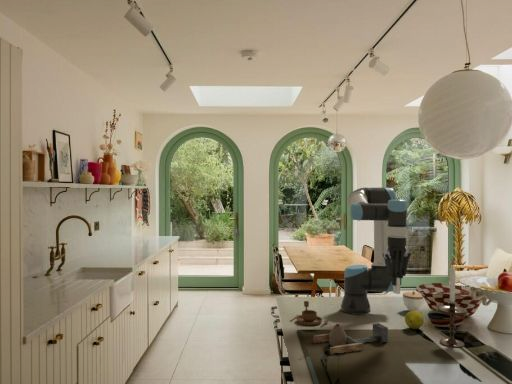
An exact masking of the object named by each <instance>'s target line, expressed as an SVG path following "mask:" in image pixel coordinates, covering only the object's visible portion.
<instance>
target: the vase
mask: <svg viewBox="0 0 512 384" xmlns="http://www.w3.org/2000/svg"><path fill="white" fill-rule="evenodd" d="M329 333H330V334H329V341H328V342H329V345H330V347H332V346H340V345H347V343H346V341H347V337H346V335H347V333H346V332H345V330H344V328H343V327H342V325H341V324H339V323H338V324H337V323H335V324H334V326H333V327H332V329H331V330H330V331H329Z"/></svg>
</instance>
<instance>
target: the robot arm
mask: <svg viewBox="0 0 512 384" xmlns="http://www.w3.org/2000/svg"><path fill="white" fill-rule="evenodd" d="M396 195H397V194H396V192H395V190H394V189H393V188H391V187H360V188H357V189H355V190H353V191H352V192H351V193H350V194H349V196H348V199H347V200H348V201H347V202H348V205H349V206H350V211H349V212H350V215H349V216H350V219H351V220H352V221H373V253H374V254H373V255H374V256H373V257H374V258H373V262H372V263H371V265H370V267H368V266H367V264H353V265H349V266H346V267H345V269H344V275H343V278H344V285H343V286H344V290H343V291H344V293H343V294H344V295H343V298H342V301H341V303H340V311H342V312H343V313H346V314H351V315H367V314H369V313H371V304H370V301H369V299H368V292H370V291H371V292H384V293H388V292H391V293H393V294H396V295H401V286H402V279H403V278H404V276H405V277H406V275H407V270H408V266H409V259H410V258H411V255H412V254H411V252H408V251H407V248H406V246H407V235H408V234H407V229H408V228H407V227H408V226H407V210H408V206H407V205H408V204H407V200H405V199H397V196H396Z"/></svg>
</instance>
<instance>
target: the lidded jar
mask: <svg viewBox="0 0 512 384" xmlns="http://www.w3.org/2000/svg"><path fill="white" fill-rule="evenodd" d="M419 293H420V292H417V291H416V292H415V290H413V291H406V292H403V293H402V302H403V305H404V306H405V308H406V309H407V310H409V311H412V310H416V311H418V312H420V310H421V309H422V308H423V306H424V304H425V298H424V299H423V297H422V296H421V295H420V294H419Z"/></svg>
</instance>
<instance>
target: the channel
mask: <svg viewBox="0 0 512 384" xmlns="http://www.w3.org/2000/svg"><path fill="white" fill-rule="evenodd" d="M329 334H330V332H327V333H323V334H313V337H312V338H313V339H312V340H313V341H312V342H313V343H314V344H320V342H321V343H327V342H326V341H328V342H329ZM359 350H360V351H363V350H364V343H362V342H361V343H354V344H348V343H346V344H345V345H340V346H333V347H332V346H330V347H329V354H330V353H331V354H330V355H335V354H334V353H338V354H343V353H344V352H345V353H349V352H351V353H352V351H353V352H359Z"/></svg>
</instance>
